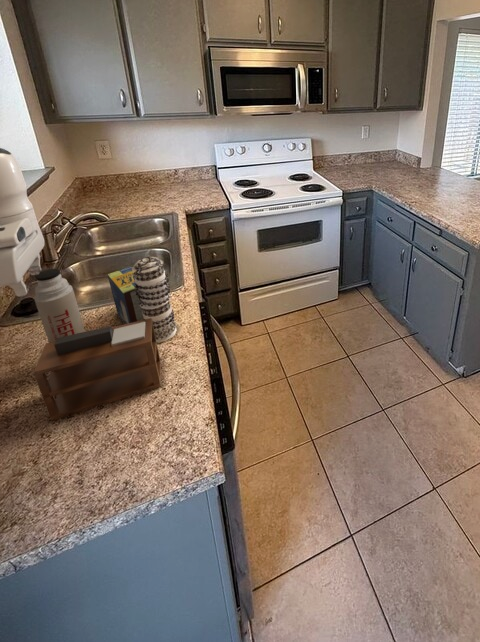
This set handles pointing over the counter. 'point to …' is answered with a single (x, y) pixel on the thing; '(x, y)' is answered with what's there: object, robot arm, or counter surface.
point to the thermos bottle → (57, 305)
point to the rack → (98, 373)
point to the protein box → (125, 295)
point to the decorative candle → (155, 296)
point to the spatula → (99, 338)
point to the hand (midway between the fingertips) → (30, 283)
